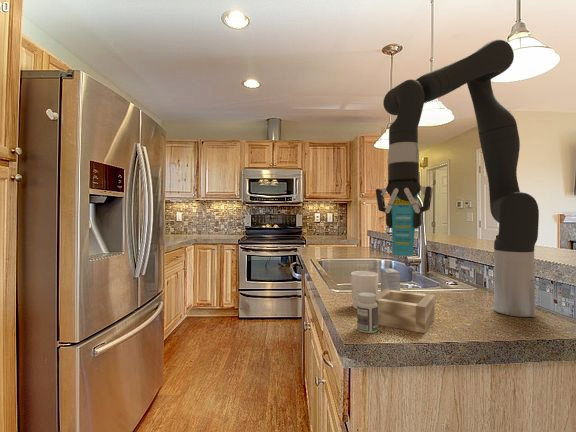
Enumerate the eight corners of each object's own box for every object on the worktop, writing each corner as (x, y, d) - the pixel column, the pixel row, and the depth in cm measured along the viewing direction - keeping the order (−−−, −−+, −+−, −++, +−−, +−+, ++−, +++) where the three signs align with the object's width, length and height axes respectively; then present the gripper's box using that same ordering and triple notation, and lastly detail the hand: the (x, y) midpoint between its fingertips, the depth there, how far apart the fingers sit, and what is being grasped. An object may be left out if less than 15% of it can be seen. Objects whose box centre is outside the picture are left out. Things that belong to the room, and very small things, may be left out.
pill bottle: (375, 326, 79) (375, 292, 79) (380, 333, 75) (380, 296, 75) (355, 326, 80) (355, 291, 79) (359, 333, 75) (359, 296, 75)
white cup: (345, 307, 96) (345, 273, 96) (359, 302, 102) (359, 270, 102) (369, 313, 90) (369, 276, 90) (383, 307, 96) (383, 273, 96)
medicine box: (400, 299, 106) (400, 272, 106) (386, 299, 106) (386, 272, 106) (393, 293, 113) (393, 268, 113) (380, 293, 114) (380, 268, 114)
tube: (388, 256, 83) (388, 180, 83) (388, 253, 88) (388, 182, 87) (419, 257, 81) (420, 179, 81) (418, 255, 85) (418, 181, 85)
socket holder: (434, 318, 86) (434, 295, 86) (424, 333, 75) (425, 307, 75) (385, 310, 93) (385, 289, 93) (369, 323, 82) (369, 299, 82)
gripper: (436, 162, 83) (436, 228, 83) (379, 166, 91) (380, 227, 91) (430, 157, 77) (430, 229, 77) (370, 163, 85) (371, 228, 85)
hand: (403, 227), depth 84 cm, fingers closed on tube, 6 cm apart
